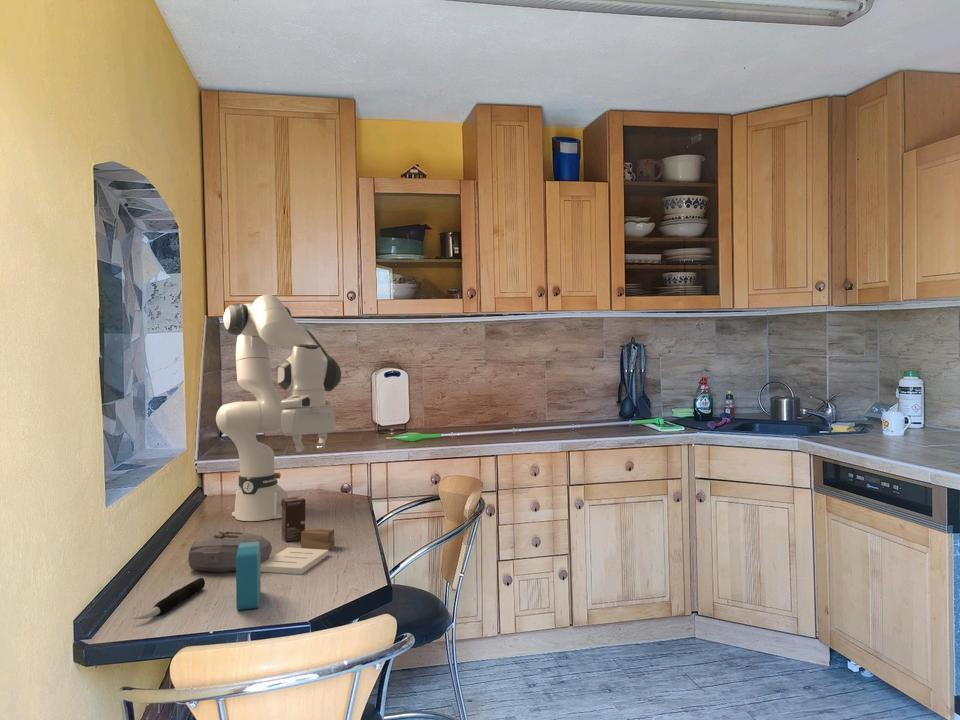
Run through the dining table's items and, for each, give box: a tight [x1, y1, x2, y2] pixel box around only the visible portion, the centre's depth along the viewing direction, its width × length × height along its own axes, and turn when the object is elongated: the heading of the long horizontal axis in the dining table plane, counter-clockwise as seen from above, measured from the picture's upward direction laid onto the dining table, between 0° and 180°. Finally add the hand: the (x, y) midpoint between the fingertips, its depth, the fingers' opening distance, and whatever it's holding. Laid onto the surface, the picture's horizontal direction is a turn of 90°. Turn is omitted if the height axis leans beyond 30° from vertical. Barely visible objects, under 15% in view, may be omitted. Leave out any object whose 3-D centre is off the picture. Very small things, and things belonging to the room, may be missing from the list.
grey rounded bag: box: [187, 531, 273, 573], centre depth 176 cm, size 15×8×20 cm
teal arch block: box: [235, 542, 262, 611], centre depth 150 cm, size 12×4×12 cm, turn 16°
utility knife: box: [131, 577, 206, 620], centre depth 148 cm, size 22×4×3 cm, turn 172°
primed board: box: [260, 547, 330, 575], centre depth 177 cm, size 16×12×2 cm
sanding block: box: [300, 527, 335, 551], centre depth 191 cm, size 4×8×5 cm, turn 78°
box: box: [281, 496, 306, 542], centre depth 200 cm, size 6×4×12 cm
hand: (310, 450), depth 189 cm, fingers open, 8 cm apart
